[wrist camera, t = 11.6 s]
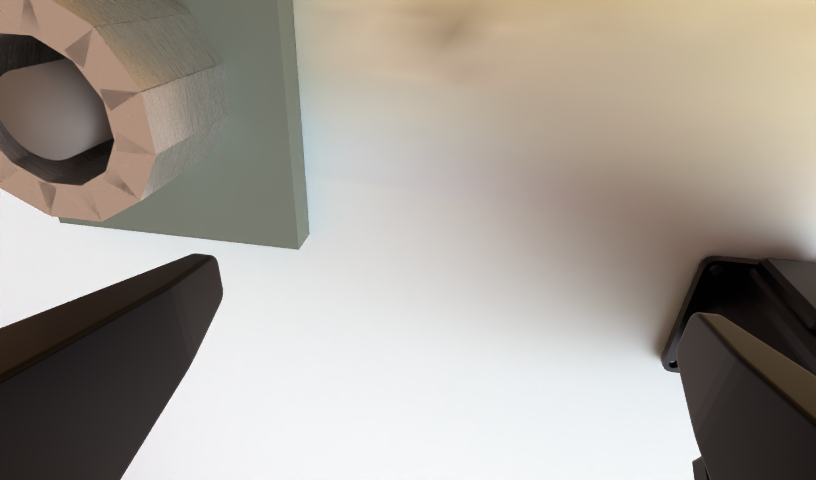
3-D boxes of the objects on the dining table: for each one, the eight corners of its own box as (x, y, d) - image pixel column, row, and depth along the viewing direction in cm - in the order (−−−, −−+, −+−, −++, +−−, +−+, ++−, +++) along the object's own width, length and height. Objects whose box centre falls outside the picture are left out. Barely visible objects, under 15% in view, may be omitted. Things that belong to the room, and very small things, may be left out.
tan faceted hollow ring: (240, 174, 20) (173, 229, 16) (85, 159, 21) (-18, 208, 17) (212, -17, 17) (116, -12, 12) (26, -27, 17) (-124, -25, 13)
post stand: (309, 233, 23) (252, 318, 18) (83, 209, 24) (-38, 280, 19) (283, -127, 16) (174, -177, 10) (-34, -136, 17) (-282, -185, 12)
